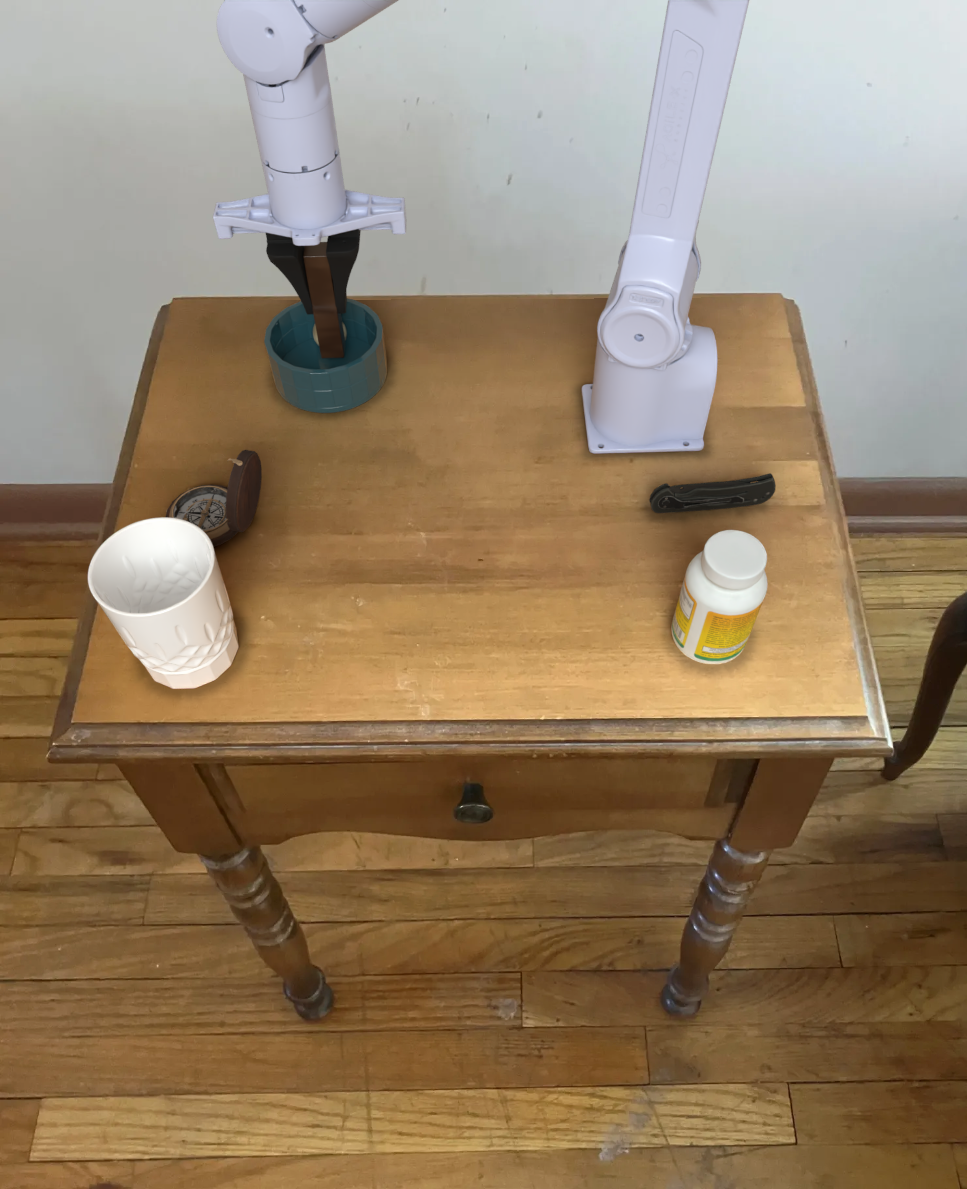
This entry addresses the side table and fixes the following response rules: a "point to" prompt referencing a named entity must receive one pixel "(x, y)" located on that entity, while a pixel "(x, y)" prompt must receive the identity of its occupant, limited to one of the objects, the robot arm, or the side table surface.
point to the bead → (317, 337)
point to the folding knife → (712, 495)
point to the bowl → (326, 360)
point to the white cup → (167, 600)
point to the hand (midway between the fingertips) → (326, 306)
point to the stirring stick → (324, 302)
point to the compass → (223, 501)
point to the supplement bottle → (720, 598)
